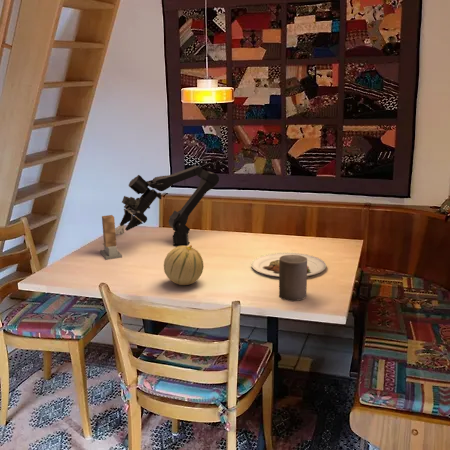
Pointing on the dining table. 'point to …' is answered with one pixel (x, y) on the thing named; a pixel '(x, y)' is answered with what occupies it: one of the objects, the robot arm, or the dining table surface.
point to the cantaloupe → (183, 265)
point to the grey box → (110, 252)
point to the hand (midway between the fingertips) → (123, 227)
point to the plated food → (271, 264)
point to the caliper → (119, 230)
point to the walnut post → (109, 230)
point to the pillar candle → (292, 277)
